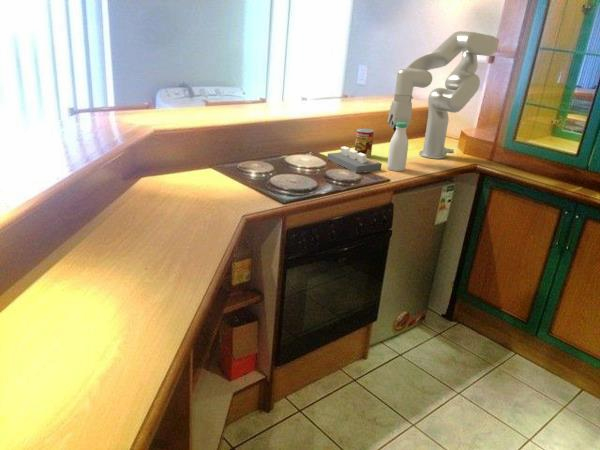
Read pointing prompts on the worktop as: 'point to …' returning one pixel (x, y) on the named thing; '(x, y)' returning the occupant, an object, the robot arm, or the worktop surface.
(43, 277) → the worktop surface
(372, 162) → the switch panel
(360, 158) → the paddle
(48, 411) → the worktop surface
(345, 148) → the paddle
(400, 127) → the milk bottle
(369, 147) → the canned food
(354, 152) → the paddle mid
